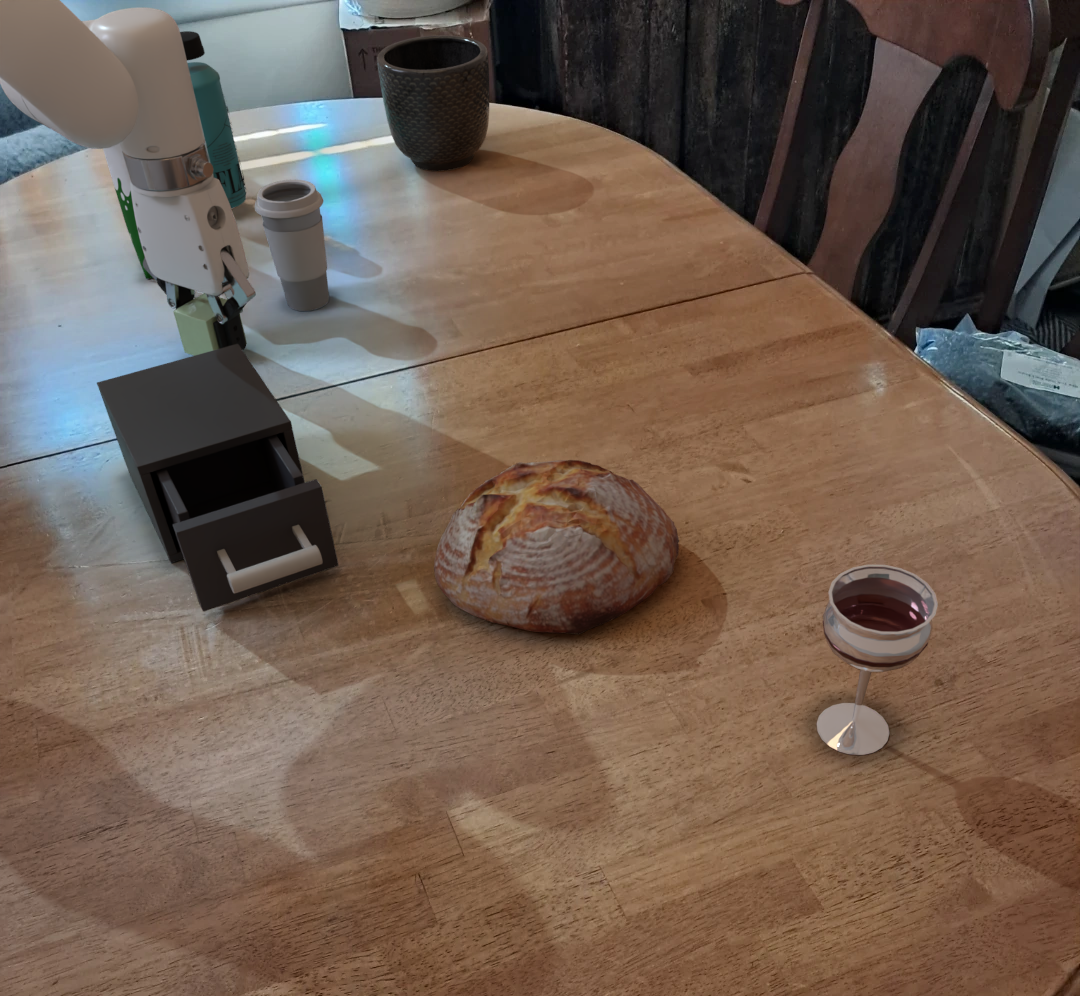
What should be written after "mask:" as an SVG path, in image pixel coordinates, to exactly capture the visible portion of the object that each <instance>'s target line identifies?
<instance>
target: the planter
mask: <svg viewBox="0 0 1080 996" xmlns="http://www.w3.org/2000/svg"><path fill="white" fill-rule="evenodd" d="M376 59H377V60H376V62H377V63H376V65H377V71H378V72H377V73H378V77H379V84H380V91H381V97H382V100H383V101H382V102H383V107H384V111H385V117H386V121H387V124H388V128H389V131H390V135H391V137H392V140H393V142H394V144H395V146H396V147H397V149H398V150H399V151H400V153H402V154H403V155H404V156H406V157H407V158H409V159H410V161H411V162H412V163H413V165H414V166H416V167H417V168H419V169H421V170H424V171H431V172H448V171H453V170H457V169H460V168H462V167H465V166H467V165H468V164H469V163H470V162H471V161H472V160H473V158H474V156H475V153H477V152H478V151H479V150H480V149H481V147H482V146H483V144H484V142H485V140H486V138H487V133H488V129H489V123H490V122H489V121H490V63H489V52H488V49H487V46H486V45H485V44H483V43H482V42H481V41H479V40H477V39H474V38H470V37H466V36H460V35H449V34H448V35H447V34H442V35H440V34H438V35H437V34H436V35H425V36H416V37H412V38H407V39H403V40H400V41H397V42H393V43H392V44H390V45H387V46H385V47H384V48H383V49H381V51H380V52H379V53H378V54H377V57H376Z"/></svg>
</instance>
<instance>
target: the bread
mask: <svg viewBox="0 0 1080 996" xmlns="http://www.w3.org/2000/svg"><path fill="white" fill-rule="evenodd" d="M679 543H680V538H679V535H678V529H677V526H676V525H675V521H674V520H673V519H672V518H671V517H670V516H669V515H668V514H667V512H666V511H665V510H664V508H663V507H661V505H660V504H659V503H658V502H656V500H655V499H654V498H652V497H651V496H650V494H648V492H647V491H646V490H645V489H644V488H643V487H641V486H640V485H639V483H638V482H636V481H635V480H634V479H629V478H627V477H624V476H621V475H618V474H615V473H613V472H612V471H611V470H610V469H607V468H604V467H602V466H600V465H598V464H594V463H591V462H588V461H584V460H579V459H564V460H563V459H558V460H557V459H556V460H549V461H537V462H532V461H531V462H523V461H518V462H516V463H515V464H513V465H510V466H509V467H507V468H506V469H505V470H503V471H501V472H500V473H499V474H497V475H494V476H492V477H491V478H489V479H486V480H485V481H484V482H483V483H482V484H480V485H479V486H477V487H476V488H475V489H474V490H471V492H470V493H469V494H468V495H467V497H466V498H465V499H464V500H463V503H462V504H461V505H460V507H459V508H457V509H456V510H455V511H454V512H452V514H451V518H450V520H449V522H448V523H447V526H446V528H445V529H444V531H443V533H442V535H441V537H440V539H439V542H438V545H437V548H436V553H435V556H434V557H435V558H434V562H433V570H434V578H435V582H436V584H437V586H438V588H439V589H440V591H441V592H442V593H443V594H444V595H445V596H446V597H447V599H448V600H449V601H450V602H451V603H452V604H453V605H454V606H455V607H456V608H458V609H460V610H462V611H463V612H466V613H468V614H470V615H471V616H474V617H476V618H478V619H481V620H485V621H486V622H487V621H488V622H490V623H494V624H498V625H499V624H500V625H504V626H506V627H512V628H516V629H520V630H523V631H524V630H525V631H527V632H532V633H548V634H549V633H551V634H567V635H568V634H569V635H581V634H583V633H585V632H587V631H589V630H591V629H593V628H595V627H599V626H600V625H601V626H602V625H603V624H607V623H609V622H611V621H612V620H615V619H617V618H618V617H620V616H622V615H624V614H626V613H627V612H630V610H631V609H633V608H634V607H637V605H640V604H641V603H643V602H644V601H645V600H646V599H647V598H649V597H650V596H651V595H653V594H654V593H655V591H656V590H657V588H658V587H660V586H661V585H664V584H665V583H666V582H667V581H668V580H669V579H670V577H671V576H672V575H673V573H674V571H675V562H676V559H677V558H678V556H679V552H680V551H679V548H680V544H679Z"/></svg>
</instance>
